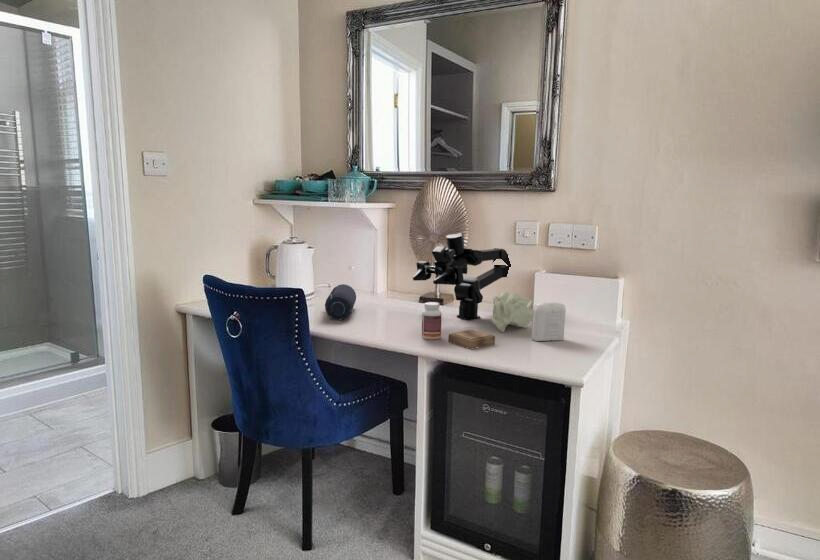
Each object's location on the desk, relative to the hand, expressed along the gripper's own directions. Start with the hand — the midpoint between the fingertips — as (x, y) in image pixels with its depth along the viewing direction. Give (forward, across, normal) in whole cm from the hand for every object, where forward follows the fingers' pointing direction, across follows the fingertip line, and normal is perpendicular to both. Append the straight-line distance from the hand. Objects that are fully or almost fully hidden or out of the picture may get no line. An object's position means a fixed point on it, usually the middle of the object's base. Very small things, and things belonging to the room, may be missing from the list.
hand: (423, 280), depth 187 cm
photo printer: (-15, +36, +21) cm, 44 cm away
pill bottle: (+10, +10, +15) cm, 20 cm away
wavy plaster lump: (-19, +19, +22) cm, 35 cm away
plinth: (+6, +22, +15) cm, 28 cm away
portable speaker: (+10, -36, +15) cm, 40 cm away
